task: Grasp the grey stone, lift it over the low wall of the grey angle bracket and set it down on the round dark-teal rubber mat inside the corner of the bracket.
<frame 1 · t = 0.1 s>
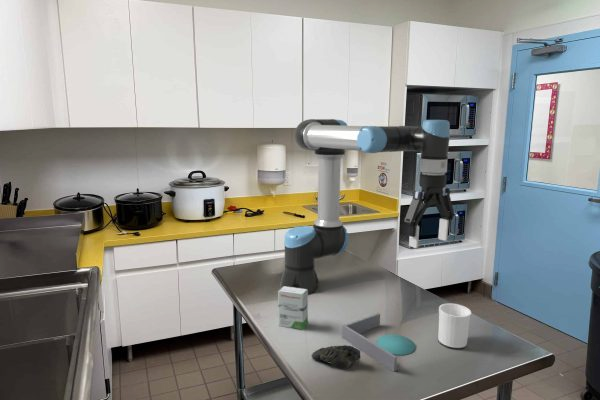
hand: (428, 243, 126), 28 cm above the table, fingers open, 13 cm apart
teal mat: (395, 344, 122), on the table
mug: (453, 341, 124), on the table
ink box: (293, 325, 133), on the table
grey angle bracket: (368, 353, 117), on the table
stone: (335, 363, 113), on the table
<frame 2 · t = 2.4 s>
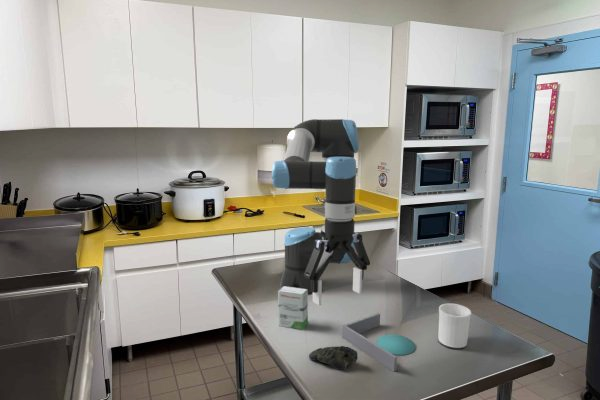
hand: (337, 297, 109), 19 cm above the table, fingers open, 13 cm apart
nothing on the table moved.
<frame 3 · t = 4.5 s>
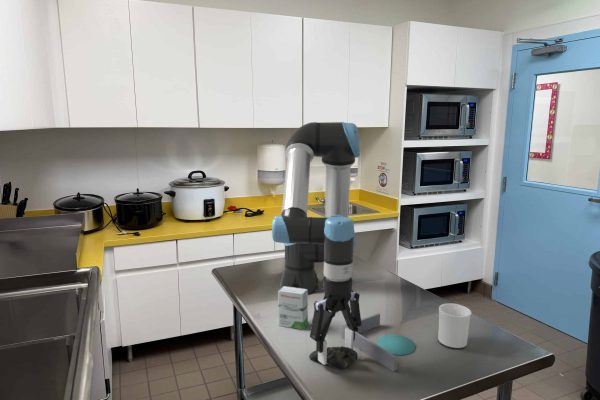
hand: (335, 356, 112), 2 cm above the table, fingers closed on stone, 8 cm apart
stone: (333, 364, 113), on the table, touching gripper
everything else where it was.
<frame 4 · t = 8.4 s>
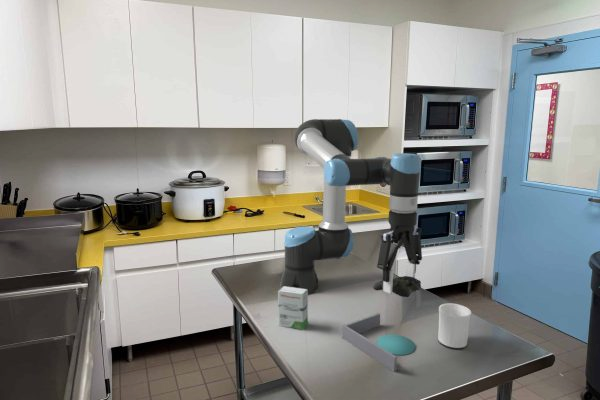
hand: (398, 288, 118), 18 cm above the table, fingers closed on stone, 8 cm apart
stone: (396, 293, 119), point 16 cm above the table, touching gripper
everything else where it was.
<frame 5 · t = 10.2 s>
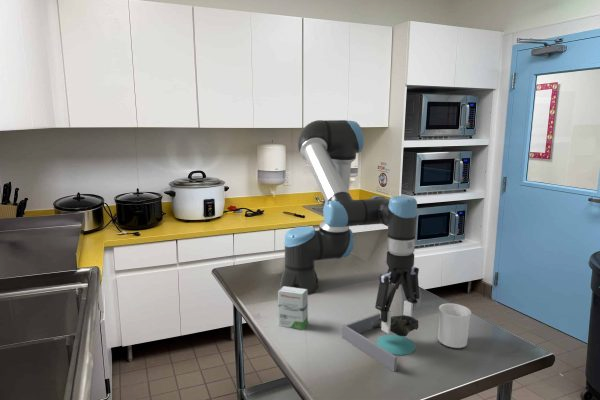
hand: (396, 327, 121), 6 cm above the table, fingers closed on stone, 8 cm apart
stone: (394, 331, 121), point 4 cm above the table, touching gripper
everything else where it was.
when the fingers open (4 cm above the table, at t = 11.6 s): stone drops 2 cm, resting on teal mat.
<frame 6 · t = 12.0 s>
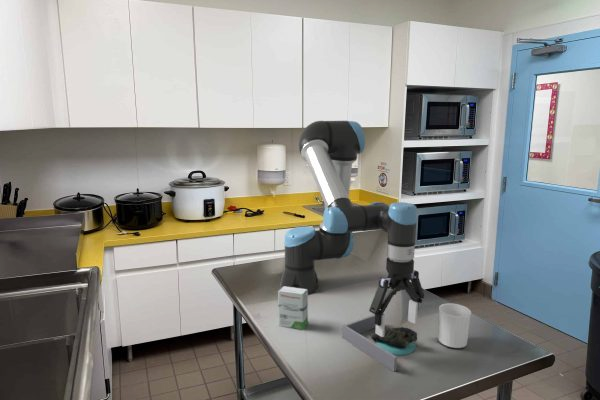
hand: (396, 328, 121), 5 cm above the table, fingers open, 13 cm apart
stone: (393, 343, 122), resting on teal mat
everything else where it was.
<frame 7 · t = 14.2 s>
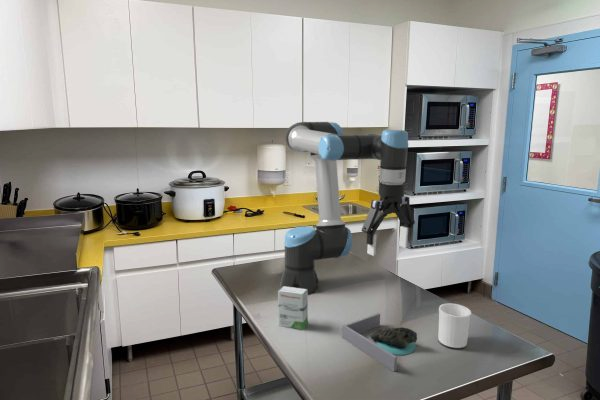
hand: (387, 250, 128), 25 cm above the table, fingers open, 13 cm apart
nothing on the table moved.
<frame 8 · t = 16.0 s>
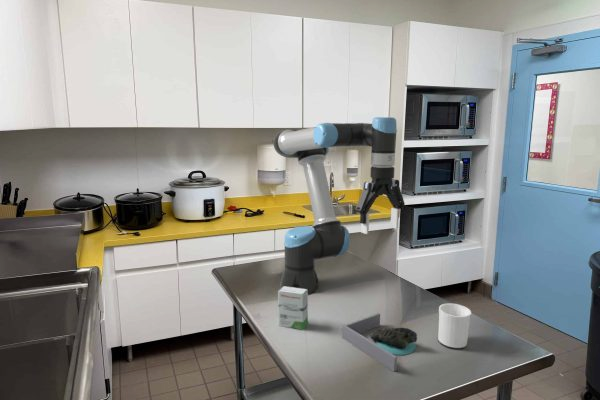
hand: (379, 230, 138), 29 cm above the table, fingers open, 13 cm apart
nothing on the table moved.
at the end: stone 0.8 cm from the teal mat (horizontally); stone resting on teal mat; the gripper is holding nothing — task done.
